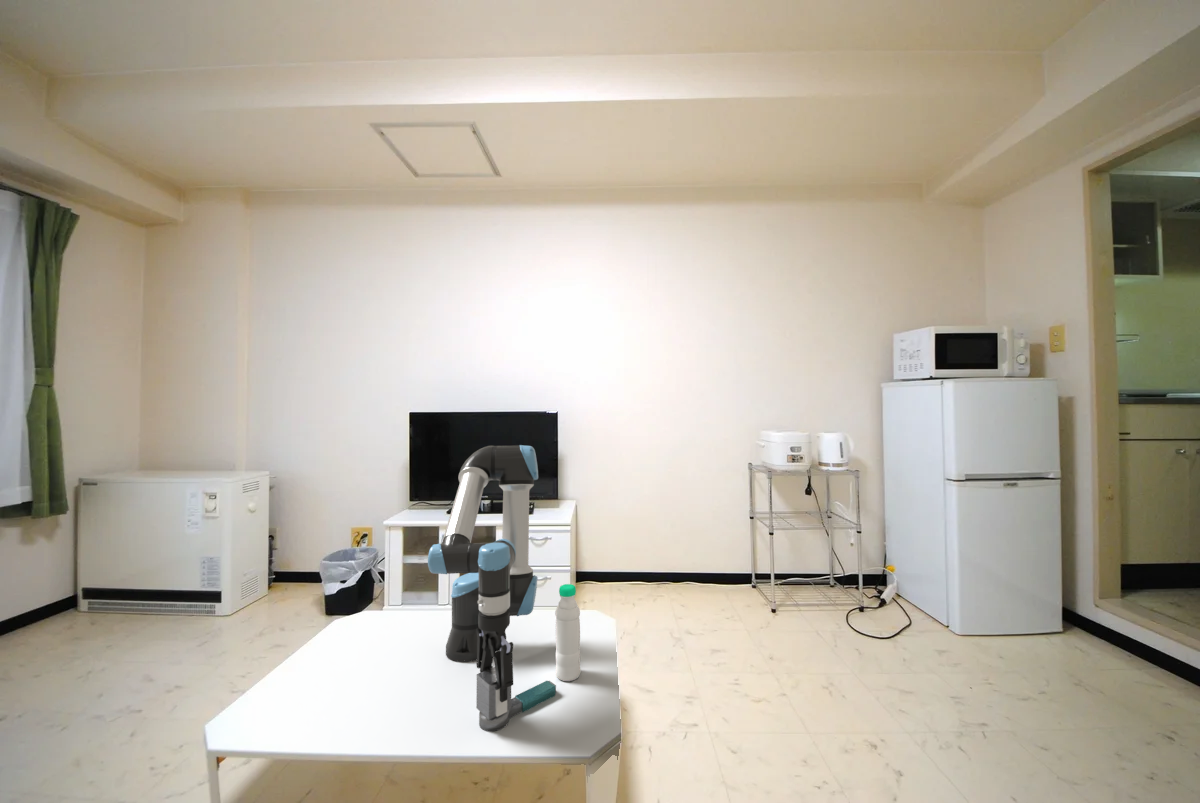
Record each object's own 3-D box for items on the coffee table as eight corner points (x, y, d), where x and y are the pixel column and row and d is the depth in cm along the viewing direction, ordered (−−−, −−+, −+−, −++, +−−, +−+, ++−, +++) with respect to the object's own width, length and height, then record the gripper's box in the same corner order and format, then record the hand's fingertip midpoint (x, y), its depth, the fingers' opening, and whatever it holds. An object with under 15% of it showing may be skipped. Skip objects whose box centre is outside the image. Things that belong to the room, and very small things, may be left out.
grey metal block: (476, 708, 110) (476, 674, 110) (498, 697, 114) (498, 665, 114) (488, 719, 105) (488, 684, 106) (511, 708, 110) (511, 674, 110)
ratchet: (488, 736, 105) (488, 709, 105) (473, 721, 110) (474, 696, 110) (560, 697, 119) (560, 674, 119) (544, 686, 124) (544, 664, 124)
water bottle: (577, 683, 125) (576, 591, 126) (552, 681, 126) (551, 589, 128) (583, 669, 132) (582, 582, 133) (559, 667, 133) (559, 581, 134)
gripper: (462, 602, 115) (461, 696, 114) (500, 627, 101) (500, 734, 100) (488, 594, 120) (488, 684, 119) (529, 617, 106) (529, 718, 105)
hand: (494, 706), depth 110 cm, fingers closed on grey metal block, 6 cm apart
